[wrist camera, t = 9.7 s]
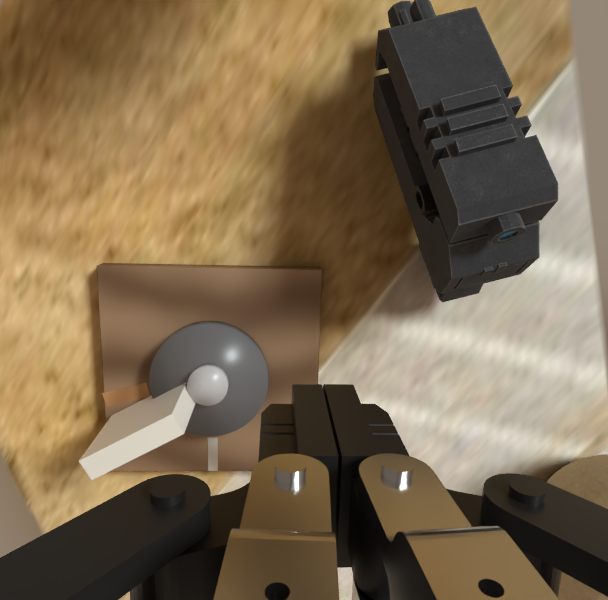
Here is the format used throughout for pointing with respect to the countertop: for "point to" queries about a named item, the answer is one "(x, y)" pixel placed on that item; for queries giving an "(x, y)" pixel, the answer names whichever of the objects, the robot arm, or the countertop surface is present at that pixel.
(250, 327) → the dial plate
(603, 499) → the vase
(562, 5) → the countertop surface
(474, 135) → the tool
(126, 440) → the dial
